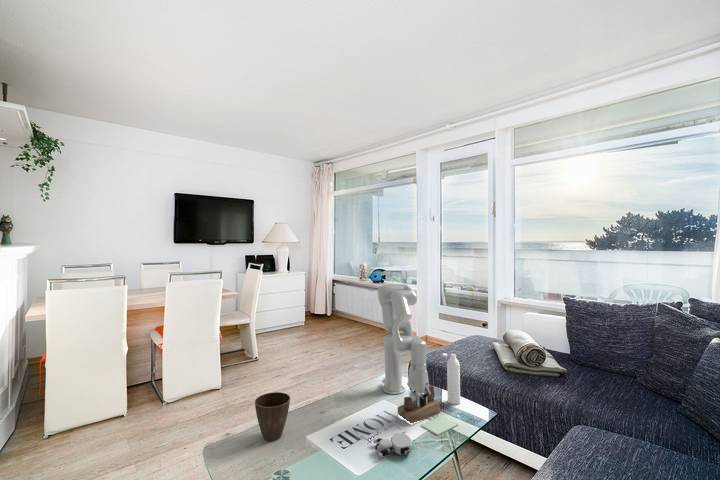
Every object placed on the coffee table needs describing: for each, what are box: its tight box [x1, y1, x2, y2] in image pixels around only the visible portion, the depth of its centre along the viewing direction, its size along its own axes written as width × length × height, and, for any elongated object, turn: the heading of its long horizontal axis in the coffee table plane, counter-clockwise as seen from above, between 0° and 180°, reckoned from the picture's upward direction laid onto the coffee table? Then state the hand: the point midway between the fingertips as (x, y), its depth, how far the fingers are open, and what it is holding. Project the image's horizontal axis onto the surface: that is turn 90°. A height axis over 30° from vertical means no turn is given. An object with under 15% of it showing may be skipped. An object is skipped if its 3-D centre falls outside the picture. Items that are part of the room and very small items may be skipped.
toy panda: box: [373, 431, 416, 458], centre depth 136 cm, size 12×4×15 cm
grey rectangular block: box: [409, 391, 428, 408], centre depth 165 cm, size 5×7×5 cm
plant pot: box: [254, 391, 291, 442], centre depth 147 cm, size 15×15×16 cm
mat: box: [420, 415, 459, 436], centre depth 155 cm, size 10×14×1 cm
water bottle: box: [442, 352, 461, 405], centre depth 179 cm, size 9×6×25 cm
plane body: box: [397, 384, 441, 423], centre depth 165 cm, size 9×20×12 cm, turn 127°
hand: (418, 403), depth 165 cm, fingers closed on grey rectangular block, 5 cm apart
